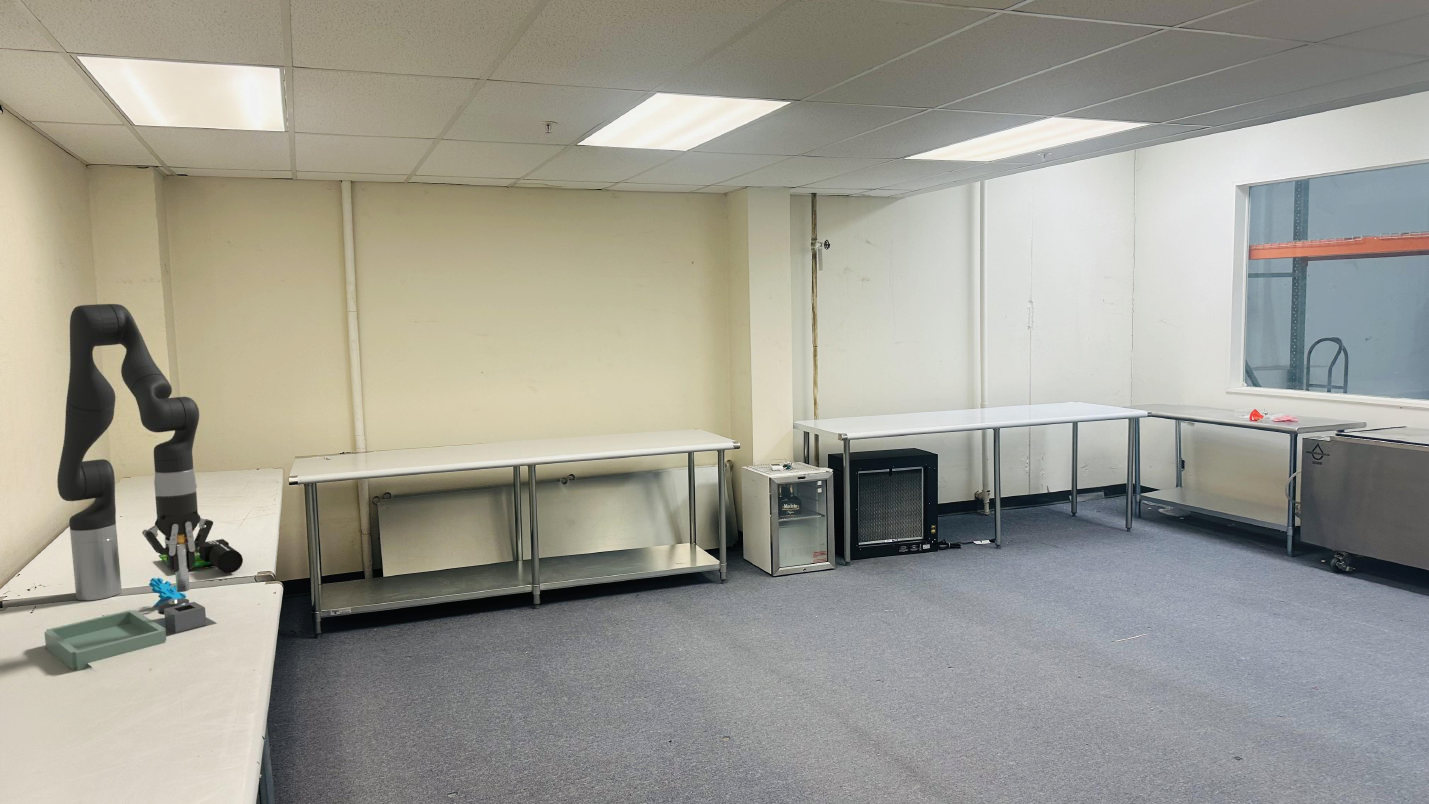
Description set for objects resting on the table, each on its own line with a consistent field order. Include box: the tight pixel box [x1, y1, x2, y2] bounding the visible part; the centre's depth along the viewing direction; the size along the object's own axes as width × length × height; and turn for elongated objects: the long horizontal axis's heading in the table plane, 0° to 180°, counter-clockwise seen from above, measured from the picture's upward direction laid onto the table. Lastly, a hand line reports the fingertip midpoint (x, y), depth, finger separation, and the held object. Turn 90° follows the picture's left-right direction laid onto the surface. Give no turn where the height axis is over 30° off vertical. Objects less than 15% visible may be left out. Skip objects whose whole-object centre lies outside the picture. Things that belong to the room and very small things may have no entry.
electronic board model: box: [158, 538, 244, 574], centre depth 240 cm, size 30×7×15 cm
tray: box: [44, 609, 167, 671], centre depth 183 cm, size 20×16×4 cm
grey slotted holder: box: [153, 598, 218, 638], centre depth 194 cm, size 13×10×6 cm
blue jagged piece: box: [148, 577, 187, 608], centre depth 206 cm, size 11×6×10 cm
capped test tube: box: [174, 534, 191, 593], centre depth 190 cm, size 2×2×12 cm
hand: (181, 569), depth 191 cm, fingers closed on capped test tube, 2 cm apart
